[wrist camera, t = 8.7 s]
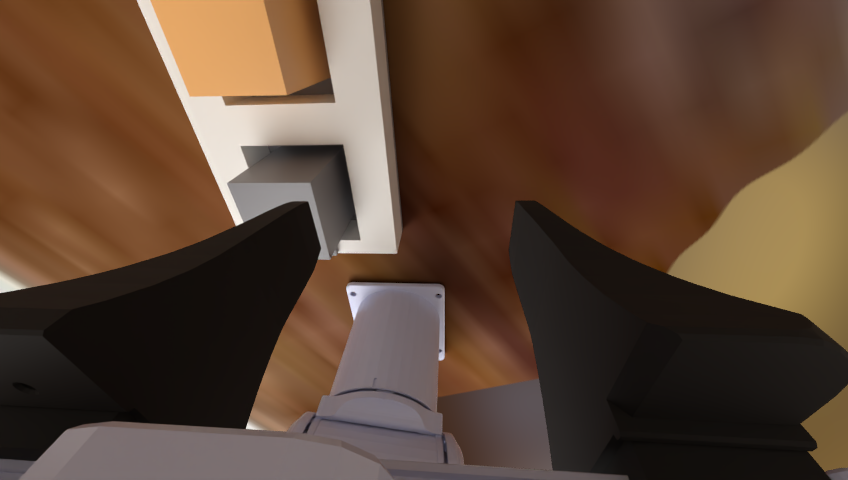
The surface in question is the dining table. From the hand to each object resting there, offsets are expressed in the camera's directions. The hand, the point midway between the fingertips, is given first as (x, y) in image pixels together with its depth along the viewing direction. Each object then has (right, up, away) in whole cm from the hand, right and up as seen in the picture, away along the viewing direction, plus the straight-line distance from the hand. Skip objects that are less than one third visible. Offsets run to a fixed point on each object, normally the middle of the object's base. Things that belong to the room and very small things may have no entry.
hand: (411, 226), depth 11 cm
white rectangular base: (-6, +7, +7) cm, 12 cm away
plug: (-7, +10, +4) cm, 13 cm away
